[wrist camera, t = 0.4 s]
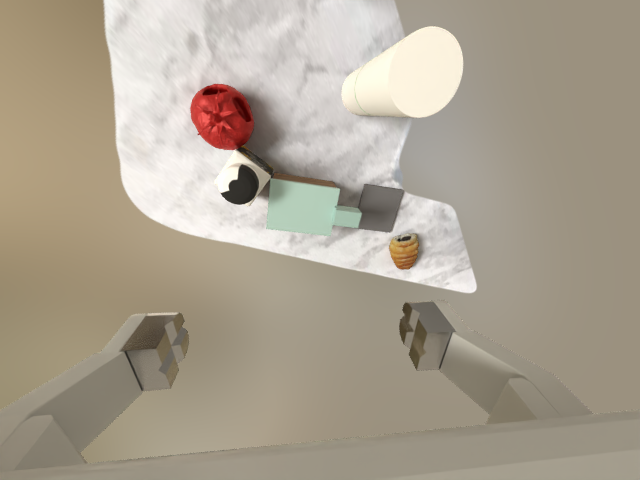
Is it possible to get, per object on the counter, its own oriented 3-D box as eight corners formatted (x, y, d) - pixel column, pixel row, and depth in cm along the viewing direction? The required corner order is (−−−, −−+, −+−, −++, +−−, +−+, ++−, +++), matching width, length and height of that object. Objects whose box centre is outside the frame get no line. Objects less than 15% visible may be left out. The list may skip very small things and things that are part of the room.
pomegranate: (240, 157, 49) (230, 167, 41) (189, 124, 46) (167, 129, 37) (266, 109, 46) (261, 111, 38) (213, 71, 42) (194, 63, 34)
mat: (364, 183, 53) (365, 184, 53) (402, 189, 55) (403, 190, 54) (353, 227, 58) (354, 228, 57) (389, 231, 59) (390, 232, 59)
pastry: (416, 262, 64) (423, 271, 61) (390, 268, 64) (395, 277, 61) (414, 230, 60) (421, 237, 57) (386, 236, 60) (392, 244, 57)
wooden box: (274, 172, 51) (272, 180, 45) (332, 181, 53) (337, 189, 47) (270, 214, 55) (268, 225, 49) (325, 221, 56) (328, 232, 51)
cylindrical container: (378, 115, 48) (452, 118, 26) (340, 114, 47) (383, 117, 25) (382, 70, 45) (472, 28, 22) (342, 68, 44) (393, 24, 22)
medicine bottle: (274, 168, 50) (269, 183, 40) (254, 196, 52) (244, 217, 42) (242, 144, 48) (228, 153, 37) (222, 174, 50) (203, 191, 39)
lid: (270, 178, 45) (269, 182, 43) (362, 191, 48) (366, 196, 45) (266, 227, 49) (265, 233, 47) (350, 236, 52) (354, 243, 49)
